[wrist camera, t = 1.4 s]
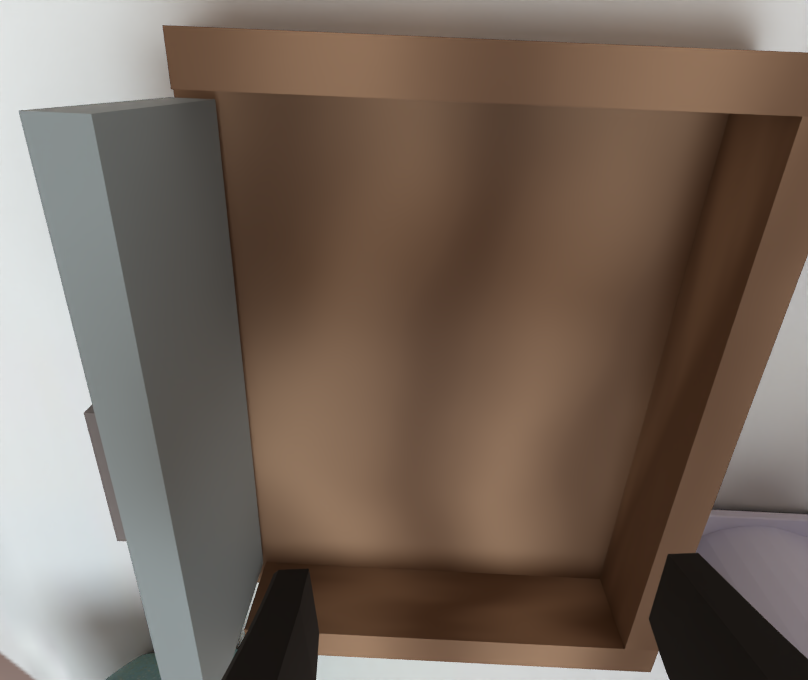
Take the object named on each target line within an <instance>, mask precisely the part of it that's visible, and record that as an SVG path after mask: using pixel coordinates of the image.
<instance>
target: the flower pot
mask: <svg viewBox="0 0 808 680" xmlns="http://www.w3.org/2000/svg"><path fill="white" fill-rule="evenodd" d="M236 652H237V649H235V652H234V655H235V654H236ZM234 655H233V657H234ZM232 659H233V658H232ZM106 680H161V676H160V672H159V668H158V664H157V660H156V656H155V653H149V654H144V655H142V656H140V657H138V658H137V659H135V660H133V661H132V662H130V663H129V664H127V665H126V666H124V667H123V668H121V669H120V670H118V671H117V672H115V673H114V674H112V675H111V676H110V677H108V678H107V679H106Z"/></svg>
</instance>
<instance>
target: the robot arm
mask: <svg viewBox="0 0 808 680" xmlns="http://www.w3.org/2000/svg"><path fill="white" fill-rule="evenodd" d="M649 622H650V625H651V628H652V631H653V634H654V637H655V640H656V643H657V646H658V649H659V652H660V655H661V658H662V661H663V664H664V666H665V669H666V672H667V675H668V677H669V679H670V680H808V514H790V513H769V512H749V511H729V510H711V513H710V516H709V518H708V521H707V524H706V526H705V529H704V532H703V534H702V537H701V539H700V542H699V545H698V547H697V550H696V553H679V554H668V555H667V559H666V562H665V565H664V569H663V572H662V575H661V579H660V582H659V585H658V589H657V592H656V595H655V599H654V602H653V605H652V609H651V612H650V616H649ZM318 645H319V627H318V621H317V615H316V609H315V603H314V597H313V590H312V584H311V578H310V572H309V569H285V570H278V571H276V572H275V573H274V574H273V577H272V579H271V581H270V584H269V586H268V589H267V591H266V593H265V595H264V597H263V600H262V602H261V604H260V606H259V608H258V610H257V612H256V615H255V617H254V619H253V621H252V623H251V625H250V627H249V629H248V631H247V633H246V635H245V637H244V639H243V641H242V643H241V644H240V646H239V648H238V650H237V652H236V654H235V655H234V657H233V659H232V661H231V663H230V665H229V666H228V668H227V670H226V672H225V674H224V676H223V677H222V679H221V680H316V673H317V659H318Z"/></svg>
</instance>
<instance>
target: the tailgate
mask: <svg viewBox="0 0 808 680" xmlns="http://www.w3.org/2000/svg"><path fill="white" fill-rule="evenodd" d="M19 114H20V118H21V122H22V126H23V130H24V134H25V138H26V142H27V146H28V150H29V154H30V158H31V162H32V166H33V170H34V174H35V178H36V182H37V186H38V190H39V194H40V198H41V202H42V206H43V210H44V214H45V218H46V222H47V226H48V230H49V234H50V238H51V242H52V246H53V250H54V254H55V258H56V262H57V266H58V270H59V274H60V278H61V282H62V286H63V290H64V294H65V298H66V302H67V306H68V310H69V313H70V317H71V321H72V325H73V329H74V333H75V337H76V341H77V345H78V349H79V353H80V357H81V361H82V365H83V369H84V373H85V377H86V381H87V385H88V389H89V393H90V397H91V401H92V405H91V406H90V407H89V408H88V409H87V410H86V411H85V412H84V415H85V419H86V423H87V427H88V431H89V434H90V438H91V442H92V446H93V450H94V453H95V457H96V461H97V465H98V469H99V473H100V476H101V480H102V484H103V488H104V492H105V496H106V499H107V503H108V507H109V511H110V515H111V519H112V522H113V526H114V530H115V534H116V538H117V541H127V545H128V549H129V553H130V557H131V561H132V564H133V568H134V572H135V576H136V580H137V584H138V588H139V592H140V596H141V600H142V604H143V608H144V612H145V616H146V620H147V624H148V628H149V632H150V636H151V640H152V644H153V648H154V652H155V656H156V660H157V664H158V668H159V672H160V676H161V680H221V679H222V677H223V676H224V674H225V672H226V670H227V668H228V666H229V665H230V663H231V661H232V658H233V655H234V652H235V649H236V646H237V643H238V640H239V637H240V634H241V631H242V627H243V624H244V621H245V618H246V615H247V612H248V609H249V606H250V603H251V600H252V596H253V593H254V590H255V587H256V584H257V581H258V578H259V575H260V572H261V569H262V565H263V555H262V546H261V536H260V526H259V517H258V507H257V497H256V488H255V478H254V469H253V459H252V449H251V440H250V430H249V421H248V411H247V401H246V392H245V382H244V372H243V363H242V353H241V344H240V334H239V324H238V315H237V305H236V295H235V286H234V276H233V267H232V257H231V247H230V238H229V228H228V218H227V209H226V199H225V190H224V180H223V170H222V161H221V151H220V141H219V132H218V122H217V113H216V103H215V99H196V98H173V97H168V98H157V99H145V100H134V101H123V102H111V103H100V104H89V105H77V106H66V107H55V108H43V109H32V110H21V111H19Z"/></svg>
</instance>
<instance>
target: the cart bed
mask: <svg viewBox="0 0 808 680" xmlns="http://www.w3.org/2000/svg"><path fill="white" fill-rule="evenodd" d="M163 32H164V40H165V47H166V54H167V62H168V69H169V77H170V84H171V89H173V90H174V98H196V99H215V103H216V113H217V122H218V132H219V141H220V151H221V161H222V170H223V180H224V190H225V199H226V209H227V218H228V228H229V238H230V247H231V257H232V267H233V276H234V286H235V295H236V305H237V315H238V324H239V334H240V344H241V353H242V363H243V372H244V382H245V392H246V401H247V411H248V421H249V430H250V440H251V449H252V459H253V469H254V478H255V488H256V497H257V507H258V517H259V526H260V536H261V546H262V555H263V565H262V569H261V572H260V575H259V578H258V581H257V582H259V585H258V588H257V591H256V595H255V598H254V601H253V604H252V607H251V610H250V613H249V617H248V620H247V623H246V626H245V629H244V631H245V635H246V633H247V631H248V629H249V627H250V625H251V623H252V621H253V619H254V617H255V615H256V612H257V610H258V608H259V606H260V604H261V602H262V600H263V597H264V595H265V593H266V591H267V589H268V586H269V584H270V581H271V579H272V577H273V574H274V573H275V572H276V571H278V570H285V569H309V572H310V578H311V584H312V590H313V597H314V603H315V609H316V615H317V621H318V627H319V645H318V655H327V656H347V657H366V658H386V659H405V660H424V661H444V662H463V663H483V664H502V665H522V666H541V667H560V668H580V669H599V670H619V671H638V672H651V670H652V667H653V664H654V662H655V659H656V656H657V654H658V651H659V649H658V646H657V643H656V640H655V637H654V634H653V631H652V628H651V625H650V622H649V616H650V612H651V609H652V605H653V602H654V599H655V595H656V592H657V589H658V585H659V582H660V579H661V575H662V572H663V569H664V565H665V562H666V559H667V555H668V554H679V553H696V550H697V547H698V545H699V542H700V539H701V537H702V534H703V532H704V529H705V526H706V524H707V521H708V518H709V516H710V513H711V510H712V508H713V505H714V502H715V500H716V497H717V494H718V492H719V489H720V486H721V484H722V481H723V478H724V476H725V473H726V470H727V468H728V465H729V462H730V460H731V457H732V454H733V452H734V449H735V446H736V444H737V441H738V439H739V436H740V433H741V431H742V428H743V425H744V423H745V420H746V417H747V415H748V412H749V409H750V407H751V404H752V401H753V399H754V396H755V393H756V391H757V388H758V385H759V383H760V380H761V377H762V375H763V372H764V369H765V367H766V364H767V361H768V359H769V356H770V354H771V351H772V348H773V346H774V343H775V340H776V338H777V335H778V332H779V330H780V327H781V324H782V322H783V319H784V316H785V314H786V311H787V308H788V306H789V303H790V300H791V298H792V295H793V292H794V290H795V287H796V284H797V282H798V279H799V276H800V274H801V271H802V268H803V266H804V263H805V261H806V258H807V255H808V53H802V52H778V51H755V50H731V49H708V48H684V47H661V46H637V45H614V44H590V43H567V42H543V41H520V40H496V39H473V38H449V37H426V36H402V35H379V34H355V33H332V32H308V31H285V30H261V29H238V28H214V27H191V26H167V25H163Z"/></svg>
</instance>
